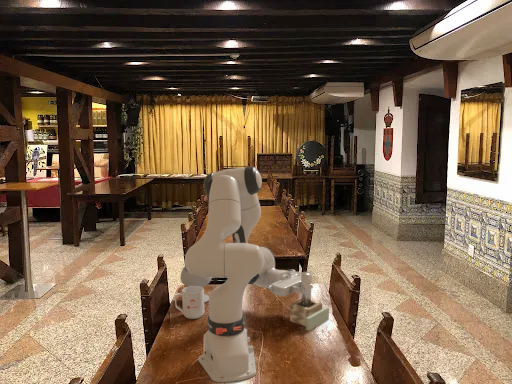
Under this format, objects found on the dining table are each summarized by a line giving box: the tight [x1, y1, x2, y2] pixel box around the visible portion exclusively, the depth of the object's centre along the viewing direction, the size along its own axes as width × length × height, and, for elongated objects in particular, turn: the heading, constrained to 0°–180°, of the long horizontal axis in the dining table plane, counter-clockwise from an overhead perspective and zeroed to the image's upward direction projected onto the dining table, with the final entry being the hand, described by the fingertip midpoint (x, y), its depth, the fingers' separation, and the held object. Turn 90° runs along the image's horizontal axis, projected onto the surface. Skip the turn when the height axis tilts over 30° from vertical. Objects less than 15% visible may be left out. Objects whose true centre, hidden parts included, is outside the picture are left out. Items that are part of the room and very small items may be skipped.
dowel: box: [300, 271, 312, 308], centre depth 174 cm, size 4×4×14 cm
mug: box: [174, 286, 205, 320], centre depth 181 cm, size 12×9×11 cm
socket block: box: [289, 298, 323, 327], centre depth 175 cm, size 9×9×7 cm
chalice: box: [179, 266, 213, 304], centre depth 198 cm, size 14×14×15 cm
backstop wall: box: [305, 306, 330, 332], centre depth 172 cm, size 2×14×5 cm, turn 139°
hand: (308, 288), depth 173 cm, fingers closed on dowel, 4 cm apart
